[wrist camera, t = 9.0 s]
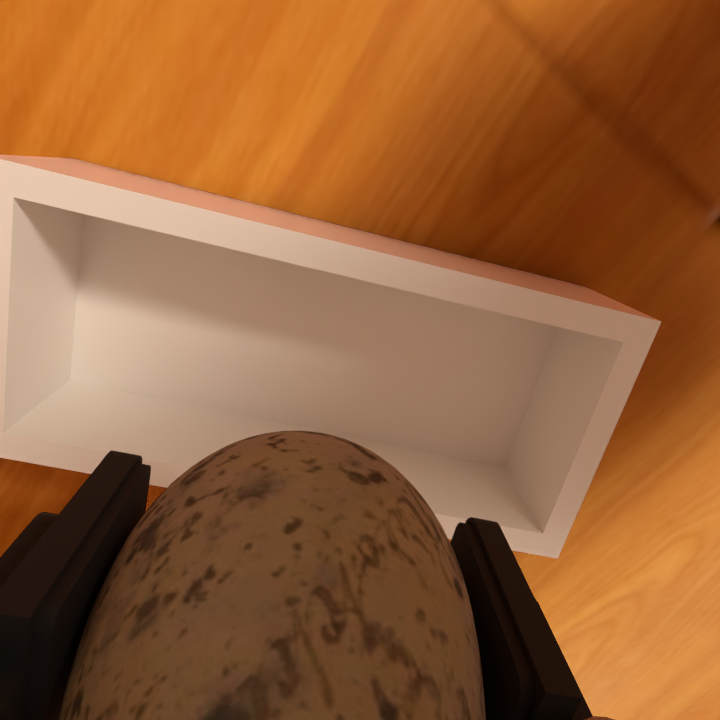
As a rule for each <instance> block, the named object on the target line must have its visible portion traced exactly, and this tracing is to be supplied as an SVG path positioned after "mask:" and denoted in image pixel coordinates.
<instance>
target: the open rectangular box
mask: <svg viewBox="0 0 720 720" xmlns="http://www.w3.org/2000/svg"><path fill="white" fill-rule="evenodd" d="M661 322H662V321H659V320H657V319H655V318H653V317H651V316H648V315H646V314H644V313H642V312H640V311H637V310H635V309H633V308H631V307H629V306H627V305H624V304H622V303H620V302H618V301H616V300H613V299H611V298H609V297H607V296H605V295H602V294H600V293H598V292H596V291H594V290H592V289H589V288H587V287H585V286H581V285H577V284H573V283H569V282H565V281H561V280H557V279H553V278H549V277H545V276H541V275H537V274H533V273H529V272H525V271H521V270H517V269H513V268H509V267H505V266H501V265H497V264H493V263H489V262H485V261H481V260H477V259H473V258H469V257H465V256H461V255H457V254H453V253H449V252H445V251H441V250H437V249H433V248H429V247H425V246H421V245H417V244H413V243H409V242H405V241H401V240H397V239H393V238H389V237H385V236H381V235H377V234H373V233H369V232H365V231H361V230H357V229H353V228H349V227H345V226H341V225H337V224H333V223H329V222H325V221H321V220H317V219H313V218H309V217H305V216H301V215H297V214H293V213H289V212H285V211H281V210H277V209H273V208H269V207H265V206H261V205H257V204H253V203H249V202H245V201H241V200H237V199H233V198H229V197H225V196H221V195H217V194H213V193H209V192H205V191H201V190H197V189H193V188H189V187H185V186H181V185H177V184H173V183H169V182H165V181H161V180H157V179H153V178H149V177H145V176H141V175H137V174H133V173H129V172H125V171H121V170H117V169H113V168H109V167H105V166H101V165H97V164H93V163H89V162H85V161H81V160H77V159H73V158H55V157H35V156H14V155H0V458H5V459H11V460H16V461H22V462H27V463H33V464H38V465H44V466H49V467H55V468H60V469H66V470H71V471H77V472H82V473H88V474H92V472H93V471H94V470H95V469H96V467H97V466H98V465H99V464H100V462H101V461H102V460H103V459H104V457H105V456H106V455H107V453H108V452H110V451H112V450H113V451H118V452H124V453H129V454H135V455H140V456H141V457H142V464H146V465H150V466H151V474H150V481H149V485H154V486H160V487H165V488H167V487H168V486H169V485H170V484H171V483H172V482H174V481H175V480H176V479H177V478H178V477H180V476H181V475H182V474H183V473H184V472H186V471H187V470H188V469H189V468H191V467H192V466H193V465H195V464H196V463H198V462H199V461H201V460H202V459H204V458H205V457H207V456H209V455H210V454H212V453H214V452H216V451H218V450H220V449H221V448H223V447H225V446H227V445H230V444H232V443H235V442H237V441H240V440H243V439H246V438H248V437H252V436H256V435H260V434H265V433H271V432H279V431H312V432H319V433H325V434H330V435H334V436H337V437H340V438H344V439H346V440H349V441H351V442H354V443H356V444H358V445H360V446H362V447H364V448H367V449H369V450H370V451H372V452H374V453H375V454H377V455H378V456H380V457H381V458H383V459H384V460H385V461H387V462H388V463H390V464H391V465H392V466H394V467H395V468H396V469H397V470H398V471H399V472H400V473H401V474H402V475H403V476H404V477H405V478H406V479H407V480H408V481H409V482H410V483H411V484H412V485H413V486H414V487H415V488H416V489H417V491H418V492H419V493H420V494H421V496H422V497H423V498H424V500H425V501H426V502H427V504H428V505H429V506H430V508H431V509H432V511H433V513H434V514H435V516H436V518H437V519H438V521H439V522H440V524H441V526H442V528H443V530H444V532H445V534H446V536H447V538H448V539H452V537H453V534H454V531H455V529H456V526H457V525H458V523H460V522H461V523H465V522H466V520H467V519H468V518H470V517H474V518H479V519H484V520H490V521H495V522H497V523H498V524H499V525H500V527H501V529H502V531H503V533H504V536H505V538H506V540H507V542H508V544H509V546H510V548H511V550H513V551H518V552H524V553H529V554H535V555H540V556H546V557H551V558H557V559H558V557H559V554H560V552H561V550H562V548H563V545H564V543H565V541H566V539H567V536H568V534H569V532H570V529H571V527H572V525H573V523H574V520H575V518H576V516H577V513H578V511H579V509H580V507H581V504H582V502H583V500H584V497H585V495H586V493H587V491H588V488H589V486H590V484H591V481H592V479H593V477H594V475H595V472H596V470H597V468H598V466H599V463H600V461H601V459H602V456H603V454H604V452H605V450H606V447H607V445H608V443H609V440H610V438H611V436H612V434H613V431H614V429H615V427H616V424H617V422H618V420H619V418H620V415H621V413H622V411H623V408H624V406H625V404H626V402H627V399H628V397H629V395H630V393H631V390H632V388H633V386H634V383H635V381H636V379H637V377H638V374H639V372H640V370H641V367H642V365H643V363H644V361H645V358H646V356H647V354H648V351H649V349H650V347H651V345H652V342H653V340H654V338H655V335H656V333H657V331H658V329H659V326H660V324H661Z"/></svg>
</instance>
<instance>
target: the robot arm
mask: <svg viewBox="0 0 720 720" xmlns="http://www.w3.org/2000/svg"><path fill="white" fill-rule="evenodd" d="M150 474H151V466H150V465H146V464H142V457H141V456H140V455H135V454H129V453H124V452H118V451H113V450H112V451H110V452H108V453H107V455H106V456H105V457H104V459H103V460H102V461H101V462H100V464H99V465H98V466H97V467H96V469H95V470H94V471H93V472H92V474H91V475H90V476H89V477H88V479H87V480H86V481H85V482H84V484H83V485H82V486H81V487H80V489H79V490H78V491H77V492H76V494H75V495H74V496H73V498H72V499H71V500H70V501H69V503H68V504H67V505H66V506H65V508H64V509H63V510H62V511H61V513H60V514H53V513H47V512H42V513H40V514H38V515H37V516H36V517H35V518H34V519H33V520H32V521H31V522H30V524H29V525H28V526H27V527H26V528H25V529H24V531H23V532H22V533H21V534H20V535H19V536H18V538H17V539H16V540H15V541H14V542H13V543H12V545H11V546H10V547H9V548H8V549H7V550H6V552H5V553H4V554H3V555H2V556H1V557H0V720H58V718H59V714H60V710H61V706H62V702H63V698H64V694H65V690H66V686H67V682H68V678H69V674H70V671H71V668H72V665H73V661H74V658H75V655H76V652H77V649H78V646H79V643H80V640H81V637H82V634H83V632H84V629H85V626H86V623H87V620H88V618H89V615H90V613H91V610H92V608H93V605H94V603H95V600H96V597H97V595H98V593H99V591H100V589H101V586H102V584H103V582H104V579H105V577H106V575H107V573H108V571H109V569H110V567H111V565H112V563H113V561H114V560H115V558H116V556H117V555H118V553H119V551H120V549H121V548H122V546H123V544H124V543H125V541H126V539H127V537H128V536H129V534H130V533H131V532H132V530H133V529H134V527H135V526H136V524H137V523H138V521H139V520H140V518H141V517H142V516H143V514H144V513H145V509H146V502H147V495H148V488H149V481H150ZM450 544H451V546H452V548H453V550H454V553H455V556H456V558H457V561H458V564H459V567H460V569H461V572H462V575H463V578H464V581H465V585H466V589H467V592H468V596H469V599H470V604H471V608H472V613H473V619H474V624H475V630H476V635H477V641H478V646H479V652H480V659H481V666H482V676H483V687H484V701H485V713H486V720H614V719H611V718H608V717H597V716H592V714H591V712H590V710H589V708H588V706H587V703H586V701H585V699H584V697H583V695H582V693H581V691H580V689H579V687H578V685H577V683H576V681H575V679H574V676H573V674H572V672H571V670H570V668H569V666H568V664H567V662H566V660H565V658H564V656H563V654H562V651H561V649H560V647H559V645H558V643H557V641H556V639H555V637H554V635H553V633H552V631H551V629H550V627H549V624H548V622H547V620H546V618H545V616H544V614H543V612H542V610H541V608H540V606H539V604H538V602H537V601H536V599H535V598H534V596H533V594H532V592H531V590H530V588H529V586H528V584H527V582H526V579H525V577H524V575H523V573H522V571H521V569H520V567H519V565H518V563H517V561H516V559H515V556H514V554H513V552H512V550H511V548H510V546H509V544H508V542H507V540H506V538H505V536H504V533H503V531H502V529H501V527H500V525H499V524H498V523H497V522H495V521H490V520H484V519H479V518H474V517H470V518H468V519H467V520H466V522H465V523H461V522H460V523H458V525H457V526H456V529H455V531H454V534H453V537H452V540H451V542H450Z"/></svg>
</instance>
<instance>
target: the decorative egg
mask: <svg viewBox="0 0 720 720" xmlns="http://www.w3.org/2000/svg"><path fill="white" fill-rule="evenodd" d="M58 720H486V713H485V701H484V687H483V676H482V666H481V659H480V652H479V646H478V641H477V635H476V630H475V624H474V619H473V613H472V608H471V604H470V599H469V596H468V592H467V589H466V585H465V581H464V578H463V575H462V572H461V569H460V567H459V564H458V561H457V558H456V556H455V553H454V550H453V548H452V546H451V544H450V542H449V540H448V538H447V536H446V534H445V532H444V530H443V528H442V526H441V524H440V522H439V521H438V519H437V518H436V516H435V514H434V513H433V511H432V509H431V508H430V506H429V505H428V504H427V502H426V501H425V500H424V498H423V497H422V496H421V494H420V493H419V492H418V491H417V489H416V488H415V487H414V486H413V485H412V484H411V483H410V482H409V481H408V480H407V479H406V478H405V477H404V476H403V475H402V474H401V473H400V472H399V471H398V470H397V469H396V468H395V467H394V466H392V465H391V464H390V463H388V462H387V461H385V460H384V459H383V458H381V457H380V456H378V455H377V454H375V453H374V452H372V451H370V450H369V449H367V448H364V447H362V446H360V445H358V444H356V443H354V442H351V441H349V440H346V439H344V438H340V437H337V436H334V435H330V434H325V433H319V432H312V431H279V432H271V433H265V434H260V435H256V436H252V437H248V438H246V439H243V440H240V441H237V442H235V443H232V444H230V445H227V446H225V447H223V448H221V449H220V450H218V451H216V452H214V453H212V454H210V455H209V456H207V457H205V458H204V459H202V460H201V461H199V462H198V463H196V464H195V465H193V466H192V467H191V468H189V469H188V470H187V471H186V472H184V473H183V474H182V475H181V476H180V477H178V478H177V479H176V480H175V481H174V482H172V483H171V484H170V485H169V486H168V487H167V488H166V489H165V491H164V492H163V493H162V494H161V495H160V496H159V497H158V498H157V499H156V500H155V501H154V502H153V503H152V505H151V506H150V507H149V508H148V509H147V511H146V512H145V513H144V514H143V516H142V517H141V518H140V520H139V521H138V523H137V524H136V526H135V527H134V529H133V530H132V532H131V533H130V534H129V536H128V537H127V539H126V541H125V543H124V544H123V546H122V548H121V549H120V551H119V553H118V555H117V556H116V558H115V560H114V561H113V563H112V565H111V567H110V569H109V571H108V573H107V575H106V577H105V579H104V582H103V584H102V586H101V589H100V591H99V593H98V595H97V597H96V600H95V603H94V605H93V608H92V610H91V613H90V615H89V618H88V620H87V623H86V626H85V629H84V632H83V634H82V637H81V640H80V643H79V646H78V649H77V652H76V655H75V658H74V661H73V665H72V668H71V671H70V674H69V678H68V682H67V686H66V690H65V694H64V698H63V702H62V706H61V710H60V714H59V718H58Z"/></svg>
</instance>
